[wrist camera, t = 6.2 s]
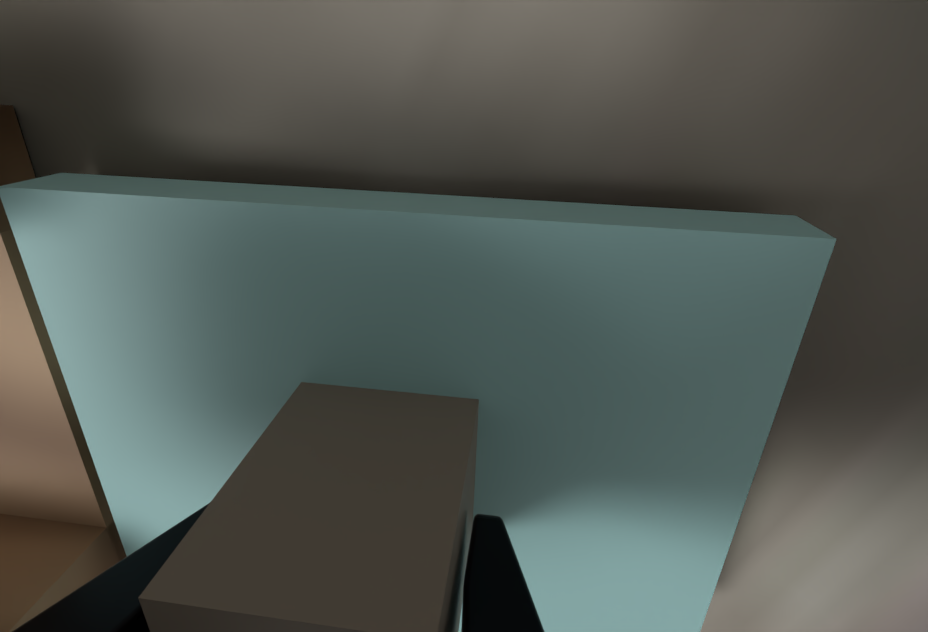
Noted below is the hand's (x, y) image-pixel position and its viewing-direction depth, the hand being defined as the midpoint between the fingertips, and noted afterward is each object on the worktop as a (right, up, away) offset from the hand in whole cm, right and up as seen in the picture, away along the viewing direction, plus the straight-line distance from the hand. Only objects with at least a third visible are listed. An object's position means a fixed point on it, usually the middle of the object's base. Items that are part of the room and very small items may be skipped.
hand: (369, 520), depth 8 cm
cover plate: (0, +1, +2) cm, 2 cm away
